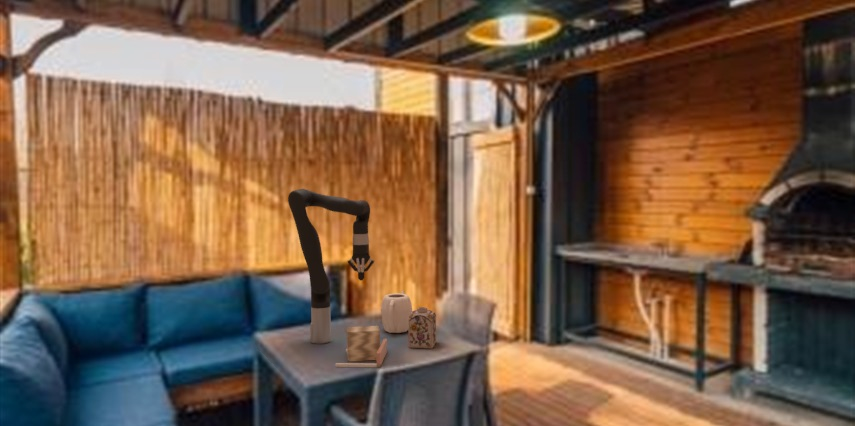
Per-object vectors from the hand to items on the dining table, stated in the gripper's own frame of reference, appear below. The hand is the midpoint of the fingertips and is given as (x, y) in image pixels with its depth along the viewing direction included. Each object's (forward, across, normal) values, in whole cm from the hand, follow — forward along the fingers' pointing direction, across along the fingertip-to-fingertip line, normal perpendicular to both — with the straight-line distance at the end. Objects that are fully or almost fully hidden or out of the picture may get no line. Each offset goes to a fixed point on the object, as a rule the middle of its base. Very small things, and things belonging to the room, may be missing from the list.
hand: (361, 280), depth 287 cm
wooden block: (+32, +3, -16) cm, 36 cm away
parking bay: (+32, +3, -18) cm, 37 cm away
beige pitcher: (+32, +13, +32) cm, 47 cm away
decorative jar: (+32, +28, +5) cm, 43 cm away
